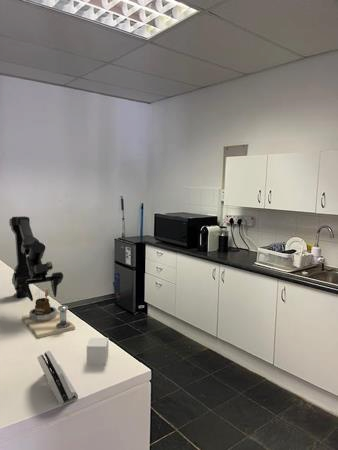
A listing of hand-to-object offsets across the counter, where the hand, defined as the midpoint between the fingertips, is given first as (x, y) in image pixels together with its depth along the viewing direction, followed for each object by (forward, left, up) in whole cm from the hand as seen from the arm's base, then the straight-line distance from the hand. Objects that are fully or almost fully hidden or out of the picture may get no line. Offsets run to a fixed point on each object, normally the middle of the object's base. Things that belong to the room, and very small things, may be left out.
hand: (44, 298), depth 136 cm
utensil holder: (-2, 0, -8) cm, 8 cm away
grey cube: (+41, +4, -10) cm, 42 cm away
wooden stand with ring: (+4, 0, -9) cm, 10 cm away
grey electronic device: (+47, -12, -10) cm, 50 cm away
